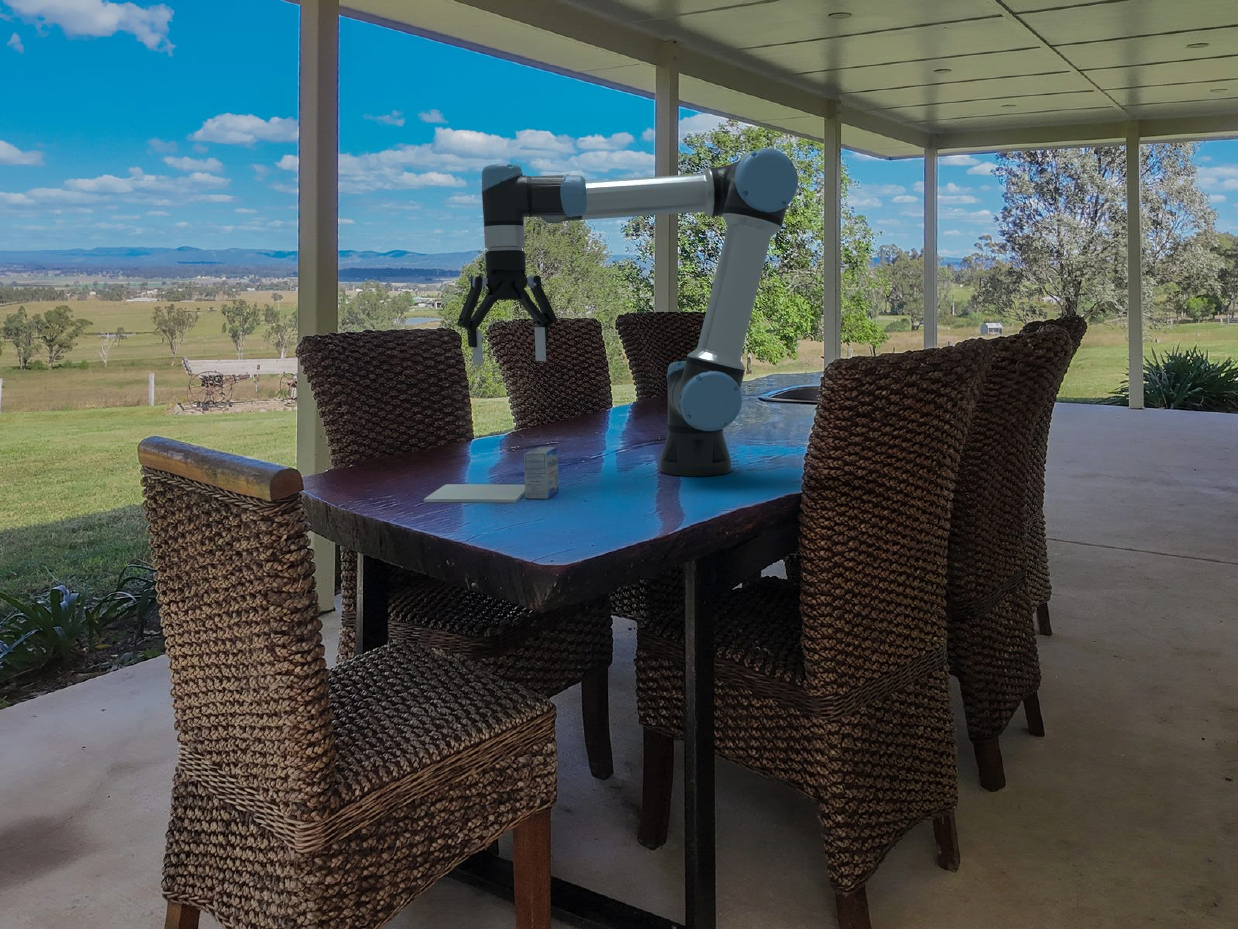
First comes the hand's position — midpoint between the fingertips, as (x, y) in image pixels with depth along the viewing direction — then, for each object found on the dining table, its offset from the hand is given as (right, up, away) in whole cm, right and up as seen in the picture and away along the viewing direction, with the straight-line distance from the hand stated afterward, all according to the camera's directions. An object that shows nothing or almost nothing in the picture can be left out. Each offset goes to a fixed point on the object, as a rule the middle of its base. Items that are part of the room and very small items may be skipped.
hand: (510, 363), depth 195 cm
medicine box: (+7, -25, -4) cm, 27 cm away
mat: (-5, -25, -3) cm, 26 cm away
